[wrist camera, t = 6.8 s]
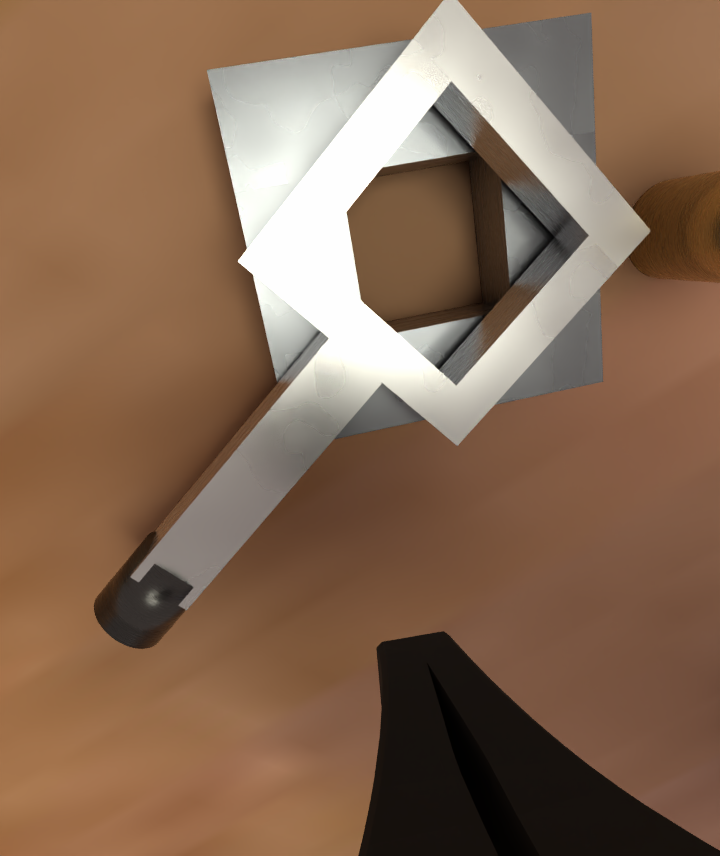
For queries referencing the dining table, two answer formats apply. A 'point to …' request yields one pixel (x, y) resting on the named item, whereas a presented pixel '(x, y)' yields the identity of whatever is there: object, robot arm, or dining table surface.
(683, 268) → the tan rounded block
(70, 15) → the dining table surface
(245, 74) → the block
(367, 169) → the collar
